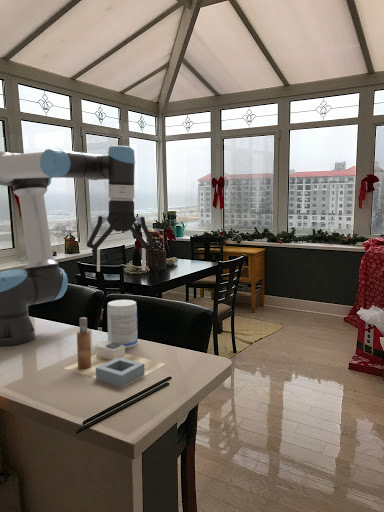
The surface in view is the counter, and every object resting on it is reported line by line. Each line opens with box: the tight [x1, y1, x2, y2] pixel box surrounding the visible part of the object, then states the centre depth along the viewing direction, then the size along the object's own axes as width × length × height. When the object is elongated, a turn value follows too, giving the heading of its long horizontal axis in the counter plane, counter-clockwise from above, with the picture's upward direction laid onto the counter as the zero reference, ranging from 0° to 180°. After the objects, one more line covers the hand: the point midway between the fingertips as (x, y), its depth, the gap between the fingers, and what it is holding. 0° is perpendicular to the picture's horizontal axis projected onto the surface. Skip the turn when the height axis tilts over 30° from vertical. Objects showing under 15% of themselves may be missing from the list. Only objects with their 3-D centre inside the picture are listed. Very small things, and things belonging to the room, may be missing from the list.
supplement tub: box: [106, 299, 139, 349], centre depth 134 cm, size 10×10×15 cm
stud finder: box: [95, 340, 126, 360], centre depth 124 cm, size 7×5×4 cm
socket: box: [95, 357, 144, 388], centre depth 109 cm, size 9×9×3 cm
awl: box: [76, 316, 92, 369], centre depth 115 cm, size 4×4×14 cm
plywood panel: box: [63, 352, 166, 388], centre depth 116 cm, size 22×18×1 cm
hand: (121, 270), depth 125 cm, fingers open, 13 cm apart
